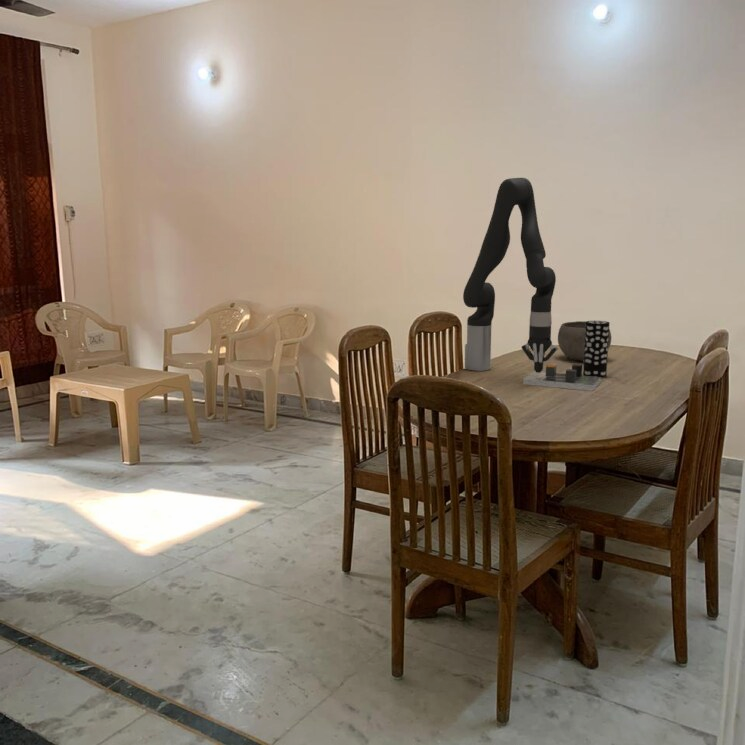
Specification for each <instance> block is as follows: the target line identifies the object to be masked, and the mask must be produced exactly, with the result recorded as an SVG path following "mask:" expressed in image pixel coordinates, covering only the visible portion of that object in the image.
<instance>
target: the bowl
mask: <svg viewBox="0 0 745 745" xmlns="http://www.w3.org/2000/svg"><path fill="white" fill-rule="evenodd" d="M585 329H586V321H584V320H583V321H580V320H579V321H577V320H576V321H567V322H563V323H562V324H561V325H560V328H559V329H558V333H557V343H558V347H559V349H560V350H561V352H562V353H563V355H565V356H566V357H567V358H569V359H570V360H572V361H577V362H584V347H585ZM611 343H612V333H611V329H610V328H609V339H608V350H609V349H610V347H611Z"/></svg>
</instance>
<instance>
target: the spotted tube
mask: <svg viewBox="0 0 745 745" xmlns="http://www.w3.org/2000/svg"><path fill="white" fill-rule="evenodd" d="M609 329H610V322H609V321H605V320H587V321H586V329H585V347H584V361H583V365H582V376H592V377H601V379H604V378H607V373H608V370H607V368H608V352H609V349H608V339H609Z"/></svg>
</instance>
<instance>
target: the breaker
mask: <svg viewBox="0 0 745 745" xmlns="http://www.w3.org/2000/svg"><path fill="white" fill-rule="evenodd" d="M557 367H558V366H557V363H547V364H546V366H545V372H546V376H551V377H554V376H556V373H557Z"/></svg>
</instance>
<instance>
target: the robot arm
mask: <svg viewBox="0 0 745 745" xmlns="http://www.w3.org/2000/svg"><path fill="white" fill-rule="evenodd" d="M533 188H534V187H533V185H532V183H531V181H530V180H529V179H528V178H526V177H510V178H506V179H504V180H503V181H502V182H501V183H500V184H499V187H498V190H497V194H496V198H495V202H494V207H493V211H492V214H491V218H490V221H489V223H488V227H487V230H486V232H485V236H484V239H483V241H482V244H481V247H480V250H479V253H478V256H477V259H476V262H475V264H474V267H473V269H472V271H471V273H470V276H469V278H468V280H467V283H466V284H465V287H464V290H463V293H462V294H463V296H462V297H463V298H462V299H463V303H464V305H465V306H466V307H467V308H470V309H471V308H472V309H473V308H476V310H475V311H474V313H473V314H471V315H469V316H468V317H467V321H466V322H467V323H466V324H467V325H466V334H467V335H466V344H465V345H464V369H465V370H470V371H476V372H477V371H478V372H481V371H482V372H483V371H485V372H486V371H489V370H491V358H492V357H491V356H492V355H491V354H492V353H491V352H492V327H493V326H492V321H493V318H494V314H495V303H496V293H495V292H496V291H495V288H494V285H492V283H490V282H486V281H487V279H488V277H489V276H490V274H491V273H492V272H494V270H495V269H496V268H497V267H498V266H499V264H501V263H502V261H503V260H504V258H505V256H506V254H507V251H508V249H509V246H510V243H511V233H510V231H511V230H510V225H509V224H510V218H511V214H512V212H513V210H514V208H515V206H518V209H519V211H520V216H521V228H520V243H521V244H520V245H521V247H522V250H523V254H524V258H525V262H526V263H525V267H526V275H527V280H528V282H529V283H530V285H531V286H532V287H533V288H536V289H535V294H533V295H532V296H531V299H530V313H529V327H528V328H529V329H528V340H527V342H526V343H525V344H523V345H522V346H521V349H522V351H523V352H524V354H525V355H526V356H527V359H529V361H532V362H533V364H534V365H533V367H534V368H533V369H534V371H535V372H537V373H540V372H543V370H544V362H547V361H549V360H550V359H551V358H552V356H553V355H554V354H555V353H556V352H557V351H558V347H556V346H555V345H554V344H553V341H552V337H551V336H552V324H553V323H552V321H553V320H552V300H553V295H554V292H555V291H554V290H555V286H556V282H557V280H556V278H557V277H556V273H555V270H554V269H552V268H551V267H548V266H545V264H544V263H545V262H544V259H545V258H546V256H547V255H546V250H545V246H544V242H543V240H542V236H541V233H540V228H539V223H538V216H537V208H536V202H535V201H536V200H535V193H534V189H533ZM530 349H531V350H530ZM548 350H549V352H548V353H547V354H546V352H547V351H548ZM545 355H546V356H545Z"/></svg>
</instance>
